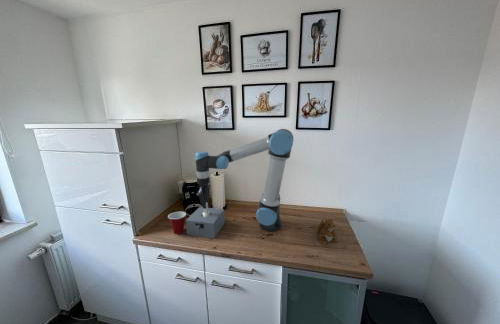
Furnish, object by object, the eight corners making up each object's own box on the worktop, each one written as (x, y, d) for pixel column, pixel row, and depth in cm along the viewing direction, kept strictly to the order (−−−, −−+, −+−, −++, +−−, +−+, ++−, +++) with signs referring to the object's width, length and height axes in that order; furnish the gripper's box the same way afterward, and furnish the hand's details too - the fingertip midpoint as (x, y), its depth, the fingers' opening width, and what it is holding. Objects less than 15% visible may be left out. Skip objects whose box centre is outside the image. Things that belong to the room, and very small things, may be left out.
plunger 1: (207, 222, 125) (207, 219, 125) (200, 230, 117) (200, 227, 116) (200, 222, 126) (200, 218, 126) (193, 230, 118) (193, 226, 117)
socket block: (224, 222, 137) (224, 209, 134) (214, 238, 120) (213, 223, 117) (200, 219, 141) (199, 206, 138) (187, 234, 124) (185, 220, 121)
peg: (211, 226, 132) (210, 211, 130) (208, 230, 128) (207, 214, 126) (205, 225, 133) (204, 210, 131) (202, 229, 129) (201, 214, 127)
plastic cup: (190, 226, 132) (188, 210, 129) (184, 236, 122) (182, 218, 119) (174, 226, 133) (172, 210, 130) (166, 236, 122) (164, 218, 120)
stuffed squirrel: (323, 246, 112) (325, 225, 109) (311, 232, 125) (312, 213, 122) (339, 244, 114) (342, 223, 111) (325, 230, 127) (327, 211, 124)
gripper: (202, 173, 129) (204, 207, 135) (192, 180, 117) (195, 216, 122) (213, 174, 127) (215, 208, 133) (204, 180, 115) (206, 217, 121)
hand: (205, 212), depth 128 cm, fingers closed
